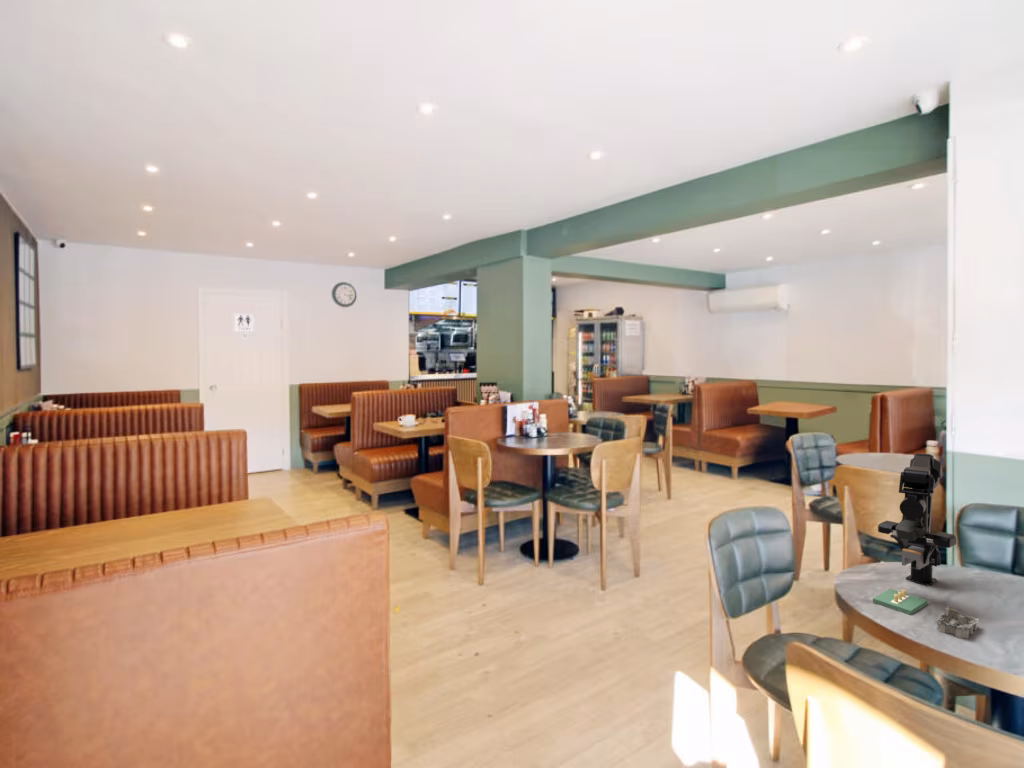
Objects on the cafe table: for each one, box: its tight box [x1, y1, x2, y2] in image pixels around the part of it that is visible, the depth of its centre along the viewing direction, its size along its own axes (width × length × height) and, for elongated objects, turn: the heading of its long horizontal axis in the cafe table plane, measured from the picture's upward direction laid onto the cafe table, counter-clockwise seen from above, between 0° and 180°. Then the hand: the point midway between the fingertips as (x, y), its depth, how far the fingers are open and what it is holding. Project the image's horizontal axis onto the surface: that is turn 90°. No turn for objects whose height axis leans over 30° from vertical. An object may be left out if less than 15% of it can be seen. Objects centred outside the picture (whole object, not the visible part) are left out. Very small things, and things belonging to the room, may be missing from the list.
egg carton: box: [935, 605, 979, 639], centre depth 150 cm, size 11×8×4 cm
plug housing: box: [901, 546, 929, 570], centre depth 169 cm, size 7×5×5 cm, turn 124°
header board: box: [872, 588, 928, 615], centre depth 166 cm, size 11×10×3 cm
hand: (915, 561), depth 169 cm, fingers closed on plug housing, 5 cm apart
